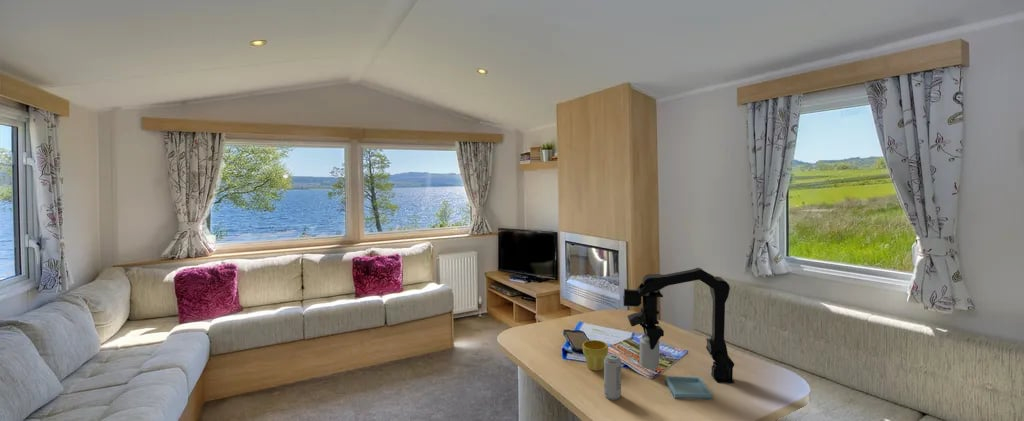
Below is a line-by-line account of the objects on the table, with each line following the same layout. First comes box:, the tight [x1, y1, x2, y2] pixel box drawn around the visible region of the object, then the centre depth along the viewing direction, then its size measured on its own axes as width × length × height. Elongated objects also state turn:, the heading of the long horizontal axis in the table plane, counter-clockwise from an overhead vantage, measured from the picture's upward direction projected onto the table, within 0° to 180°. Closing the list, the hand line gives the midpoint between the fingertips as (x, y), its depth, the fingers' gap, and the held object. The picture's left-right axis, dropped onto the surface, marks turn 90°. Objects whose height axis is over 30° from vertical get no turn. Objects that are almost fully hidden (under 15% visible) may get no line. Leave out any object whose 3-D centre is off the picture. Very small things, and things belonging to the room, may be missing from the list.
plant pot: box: [582, 339, 609, 372], centre depth 177 cm, size 10×10×10 cm
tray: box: [664, 375, 714, 400], centre depth 158 cm, size 13×13×2 cm
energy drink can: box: [603, 353, 622, 401], centre depth 154 cm, size 6×6×15 cm
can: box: [639, 334, 660, 370], centre depth 170 cm, size 8×8×12 cm
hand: (649, 345), depth 170 cm, fingers closed on can, 7 cm apart
